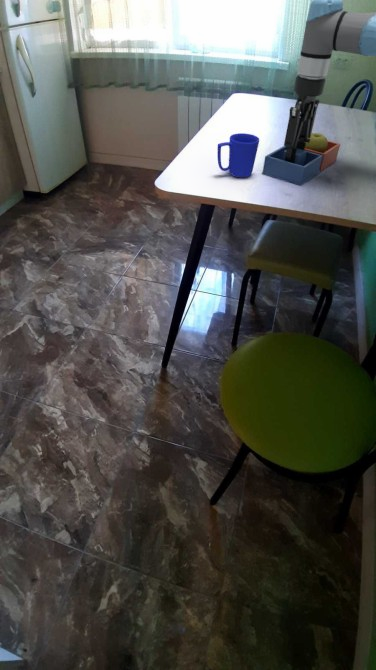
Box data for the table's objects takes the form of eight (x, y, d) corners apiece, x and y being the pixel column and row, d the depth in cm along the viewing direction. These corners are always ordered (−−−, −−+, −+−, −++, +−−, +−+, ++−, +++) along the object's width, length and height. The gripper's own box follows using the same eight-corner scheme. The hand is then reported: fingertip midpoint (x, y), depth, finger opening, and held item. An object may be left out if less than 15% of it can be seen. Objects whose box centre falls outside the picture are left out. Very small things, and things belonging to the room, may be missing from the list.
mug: (209, 171, 120) (212, 135, 114) (245, 167, 124) (250, 132, 117) (221, 183, 115) (225, 145, 108) (259, 177, 119) (265, 141, 112)
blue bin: (318, 172, 123) (323, 155, 120) (300, 185, 116) (304, 167, 112) (281, 162, 128) (285, 145, 125) (262, 173, 121) (265, 156, 117)
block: (303, 168, 121) (307, 151, 118) (295, 173, 118) (299, 155, 115) (287, 164, 124) (291, 146, 120) (280, 168, 121) (283, 151, 117)
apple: (326, 163, 127) (333, 139, 122) (301, 163, 127) (306, 138, 122) (319, 154, 133) (325, 131, 128) (295, 154, 132) (300, 130, 127)
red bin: (335, 160, 131) (340, 143, 128) (320, 171, 124) (324, 154, 120) (300, 151, 136) (304, 134, 133) (283, 161, 129) (286, 144, 125)
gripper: (312, 68, 112) (294, 156, 128) (281, 79, 101) (265, 173, 117) (338, 73, 109) (316, 162, 125) (309, 84, 98) (289, 180, 114)
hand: (292, 167), depth 121 cm, fingers closed on block, 5 cm apart
